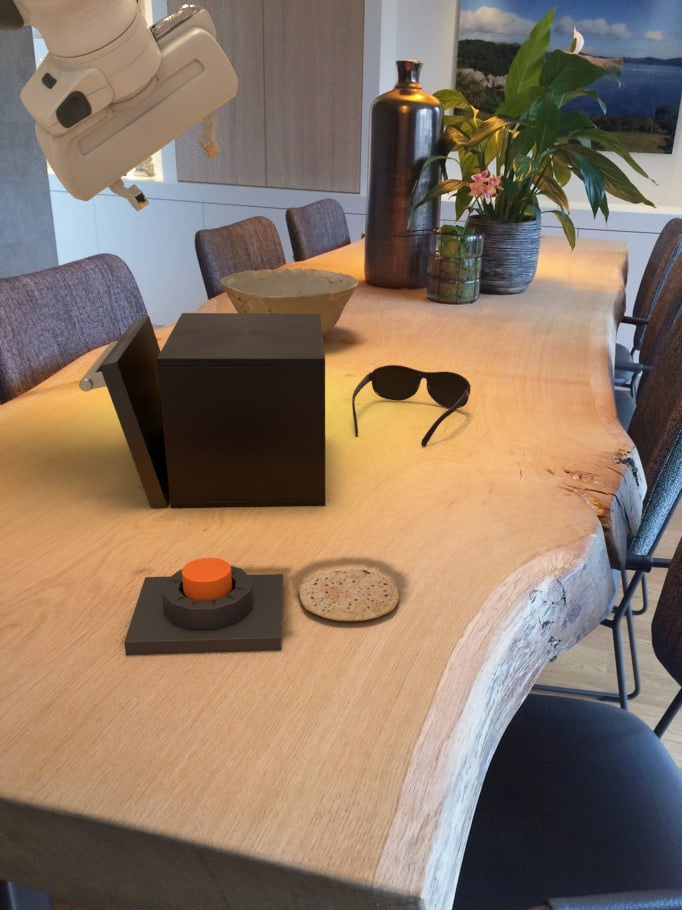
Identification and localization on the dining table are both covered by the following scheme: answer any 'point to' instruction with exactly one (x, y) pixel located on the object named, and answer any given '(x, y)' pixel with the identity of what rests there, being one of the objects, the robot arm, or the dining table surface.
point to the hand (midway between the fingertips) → (177, 179)
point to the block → (207, 617)
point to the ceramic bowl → (291, 292)
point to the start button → (207, 579)
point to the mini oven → (244, 410)
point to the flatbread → (349, 595)
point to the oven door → (136, 402)
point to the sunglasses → (405, 384)
